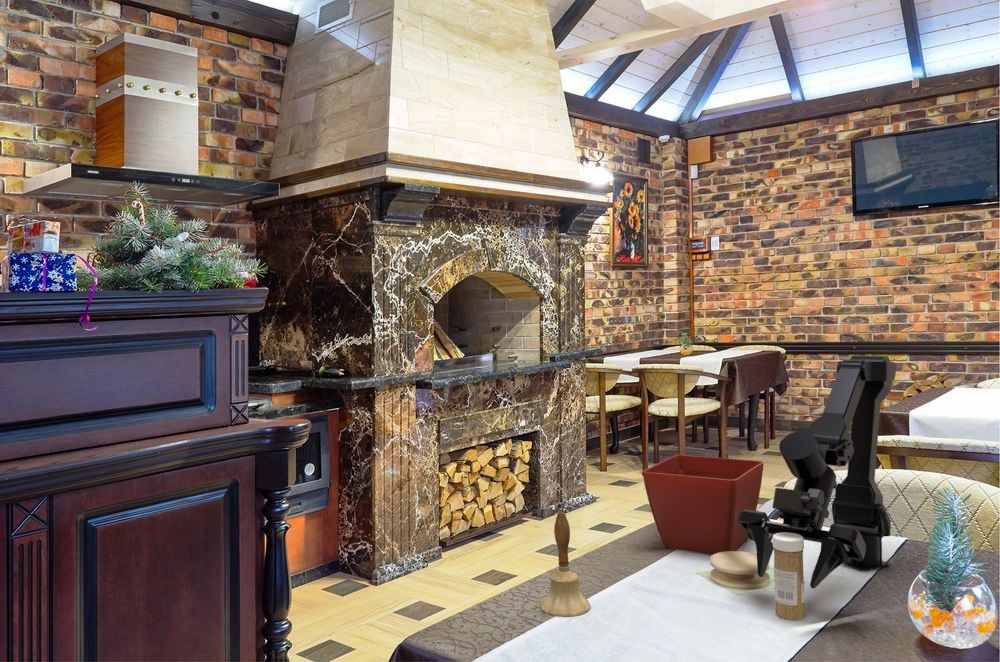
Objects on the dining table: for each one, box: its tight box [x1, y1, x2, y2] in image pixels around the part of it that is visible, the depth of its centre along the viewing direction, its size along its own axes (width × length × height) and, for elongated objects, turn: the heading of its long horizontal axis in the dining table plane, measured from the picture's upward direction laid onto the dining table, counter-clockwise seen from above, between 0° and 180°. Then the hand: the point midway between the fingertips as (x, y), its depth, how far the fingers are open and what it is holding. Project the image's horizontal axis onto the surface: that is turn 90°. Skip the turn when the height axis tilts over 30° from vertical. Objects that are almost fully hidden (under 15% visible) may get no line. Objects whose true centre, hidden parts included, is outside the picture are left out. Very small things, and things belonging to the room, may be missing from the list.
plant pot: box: [642, 454, 765, 556], centre depth 159 cm, size 19×19×17 cm
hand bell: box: [540, 511, 591, 618], centre depth 130 cm, size 8×8×16 cm
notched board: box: [695, 566, 806, 596], centre depth 139 cm, size 14×12×1 cm
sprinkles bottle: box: [772, 532, 806, 621], centre depth 122 cm, size 5×5×14 cm
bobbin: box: [709, 550, 771, 590], centre depth 138 cm, size 10×10×3 cm
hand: (785, 581), depth 121 cm, fingers open, 8 cm apart
